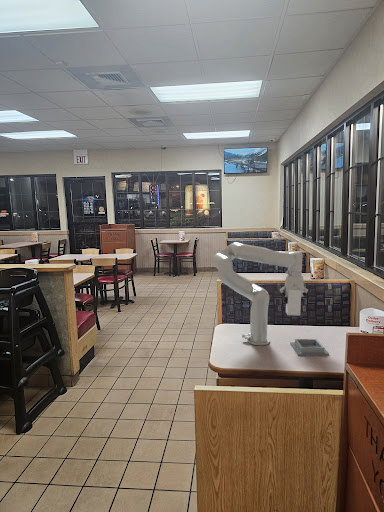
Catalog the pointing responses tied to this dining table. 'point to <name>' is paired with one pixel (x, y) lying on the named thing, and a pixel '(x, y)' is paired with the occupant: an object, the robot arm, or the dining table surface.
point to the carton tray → (308, 347)
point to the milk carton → (294, 302)
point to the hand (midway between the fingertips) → (293, 303)
